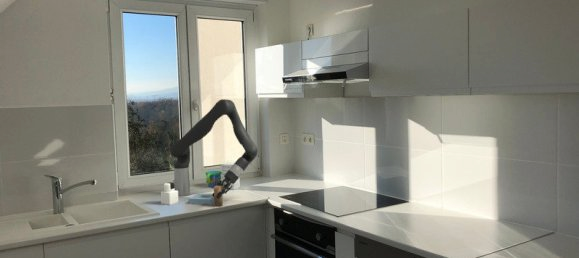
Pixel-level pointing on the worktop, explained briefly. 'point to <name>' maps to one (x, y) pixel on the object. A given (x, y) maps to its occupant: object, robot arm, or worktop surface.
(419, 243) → the worktop surface
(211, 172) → the snack cup
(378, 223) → the worktop surface
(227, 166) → the supplement box
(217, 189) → the walnut peg
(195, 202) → the socket block
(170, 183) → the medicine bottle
